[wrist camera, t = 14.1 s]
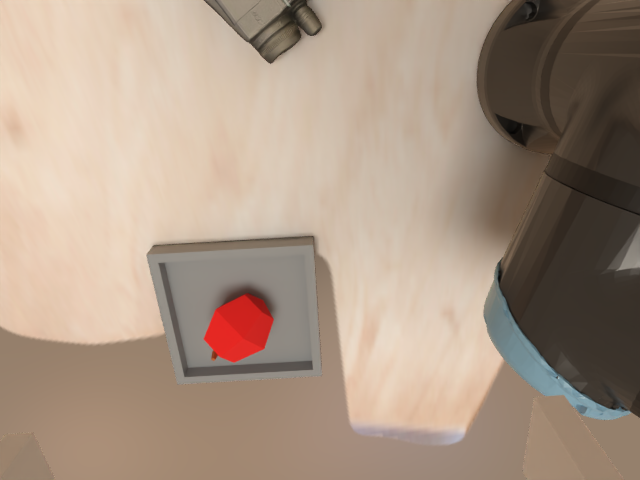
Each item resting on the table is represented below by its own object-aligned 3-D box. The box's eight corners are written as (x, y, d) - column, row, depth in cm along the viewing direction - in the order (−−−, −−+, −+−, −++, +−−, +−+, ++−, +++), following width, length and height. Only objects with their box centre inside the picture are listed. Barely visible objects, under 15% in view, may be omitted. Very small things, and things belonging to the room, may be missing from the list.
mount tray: (313, 236, 47) (313, 245, 45) (321, 363, 54) (321, 376, 52) (153, 245, 47) (146, 254, 45) (182, 371, 54) (177, 384, 52)
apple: (249, 294, 43) (191, 356, 42) (294, 331, 46) (240, 388, 46) (232, 269, 49) (181, 323, 48) (272, 303, 52) (225, 354, 52)
